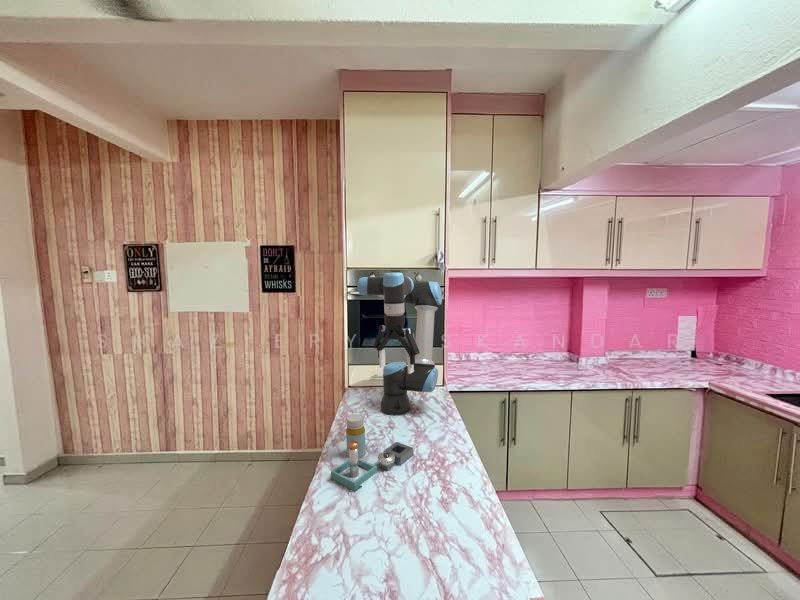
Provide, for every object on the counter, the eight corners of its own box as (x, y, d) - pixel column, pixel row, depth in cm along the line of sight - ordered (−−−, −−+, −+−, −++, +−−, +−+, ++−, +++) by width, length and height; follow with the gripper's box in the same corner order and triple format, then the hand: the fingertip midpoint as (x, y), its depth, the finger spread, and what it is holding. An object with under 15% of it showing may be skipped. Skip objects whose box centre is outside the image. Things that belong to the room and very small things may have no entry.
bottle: (362, 461, 125) (361, 422, 124) (344, 460, 126) (342, 421, 125) (368, 451, 132) (366, 414, 130) (350, 450, 133) (349, 413, 132)
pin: (354, 471, 118) (353, 439, 117) (360, 475, 116) (359, 442, 115) (348, 476, 116) (346, 443, 114) (354, 479, 114) (353, 446, 113)
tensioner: (390, 477, 116) (389, 461, 115) (372, 469, 120) (372, 454, 120) (413, 458, 127) (413, 444, 126) (396, 451, 131) (396, 438, 131)
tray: (354, 464, 124) (353, 456, 123) (377, 474, 117) (377, 466, 117) (331, 479, 115) (330, 471, 115) (354, 492, 108) (354, 483, 108)
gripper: (363, 313, 132) (365, 366, 134) (416, 318, 117) (417, 378, 119) (375, 310, 138) (377, 361, 140) (428, 315, 123) (429, 372, 125)
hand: (396, 369), depth 130 cm, fingers open, 13 cm apart
